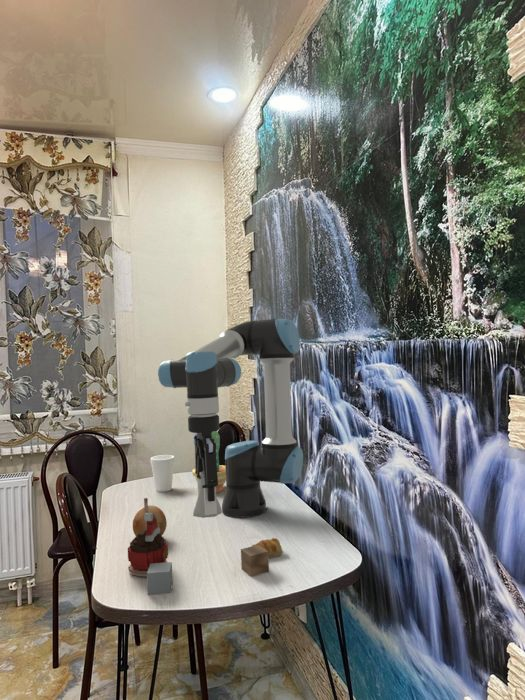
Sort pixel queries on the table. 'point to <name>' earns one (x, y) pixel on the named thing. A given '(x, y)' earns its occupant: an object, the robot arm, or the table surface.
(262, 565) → the walnut block
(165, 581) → the slate-grey block
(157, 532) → the cake
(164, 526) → the onion
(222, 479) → the potted cactus
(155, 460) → the foam cup
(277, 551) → the pastry
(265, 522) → the table surface
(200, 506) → the flask
